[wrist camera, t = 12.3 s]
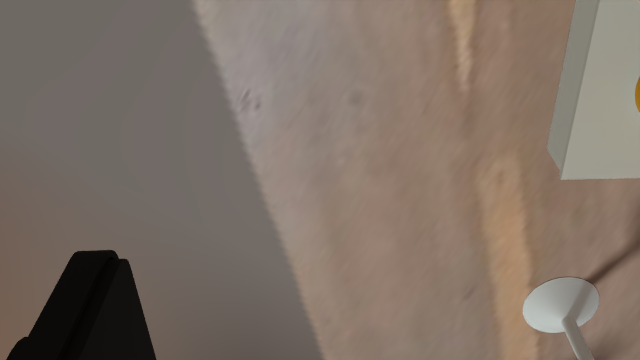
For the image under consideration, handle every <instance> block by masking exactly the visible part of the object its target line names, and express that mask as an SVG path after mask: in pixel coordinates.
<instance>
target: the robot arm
mask: <svg viewBox="0 0 640 360" xmlns="http://www.w3.org/2000/svg"><path fill="white" fill-rule="evenodd" d="M6 360H156V357H155V353H154V349H153V346H152V342H151V339H150V335H149V331H148V328H147V324H146V321H145V317H144V314H143V310H142V306H141V303H140V299H139V296H138V292H137V289H136V285H135V281H134V278H133V274H132V270H131V267H130V264H129V262H128V260H127V259H119V258H118V256H117V254H116V252H115V251H113V250H99V251H78V252H75V253H74V254H73V256H72V257H71V259H70V260H69V262H68V264H67V266H66V268H65V270H64V272H63V273H62V275H61V277H60V279H59V281H58V283H57V284H56V286H55V288H54V290H53V292H52V294H51V296H50V298H49V299H48V301H47V303H46V305H45V306H44V308H43V310H42V312H41V314H40V316H39V318H38V320H37V321H36V323H35V325H34V327H33V329H32V330H31V332H30V334H29V336H28V337H24V338H22V339H21V340H19V341H18V342H17V343H16V345H15V346H14V348H13V349H12V350H11V352H10V354H9V356H8V357H7V359H6Z"/></svg>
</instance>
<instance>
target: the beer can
mask: <svg viewBox="0 0 640 360" xmlns="http://www.w3.org/2000/svg"><path fill="white" fill-rule="evenodd" d="M635 103H636V106H637V109H638V111H639V113H640V76H639V78H638V81H637V84H636V88H635Z"/></svg>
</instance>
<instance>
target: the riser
mask: <svg viewBox="0 0 640 360" xmlns="http://www.w3.org/2000/svg"><path fill="white" fill-rule="evenodd" d="M639 76H640V0H576V2H575V7H574V12H573V17H572V22H571V27H570V32H569V38H568V43H567V48H566V53H565V58H564V63H563V68H562V73H561V78H560V83H559V88H558V93H557V99H556V104H555V109H554V114H553V119H552V124H551V129H550V134H549V139H548V144H547V150H548V152H549V153H550V155H551V157H552V158H553V160H554V161H555V163H556V164H557V166H558V168H559V169H560V175H559V177H560V179H612V178H640V113H639V111H638V109H637V106H636V103H635V88H636V84H637V81H638V78H639Z"/></svg>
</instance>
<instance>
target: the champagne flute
mask: <svg viewBox="0 0 640 360" xmlns="http://www.w3.org/2000/svg"><path fill="white" fill-rule="evenodd" d="M599 301H600V300H599V294H598V291H597V289H596V288H595V287H594V286H593V285H592V284H591V283H589V282H588V281H585V280H583V279H579V278H574V277H564V278H557V279H553V280H550V281H548V282H545V283H543V284H541V285H540V286H538V287H537V288H535V289H534V290H533V291H532V292H531V293H530V294H529V295H528V297H527V298H526V300H525V302H524V305H523V316H524V318H525V320H526V322H527V323H528V324H529V325H530V326H532V327H533V328H535V329H537V330H539V331H543V332H549V333H558V332H564V331H565V332H566V335H567V337H568V339H569V341H570V343H571V346H572V348H573V350H574V352H575V354H576V357H577V359H578V360H594V358H593V356H592V354H591V351H590V349H589V347H588V345H587V343H586V341H585V339H584V337H583V335H582V333H581V331H580V329H579V326H581V325H582V324H584V323H585V322H587V321H588V320H589V319H590V318H591V317H592V316H593V315H594V313H595V312H596V310H597V308H598V306H599Z"/></svg>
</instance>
